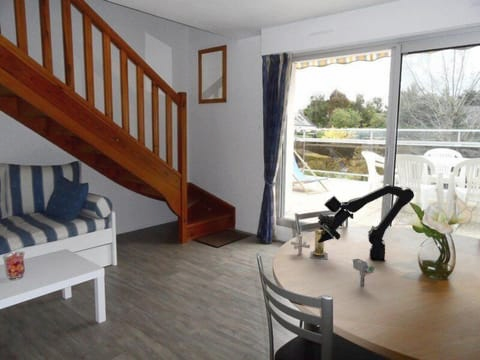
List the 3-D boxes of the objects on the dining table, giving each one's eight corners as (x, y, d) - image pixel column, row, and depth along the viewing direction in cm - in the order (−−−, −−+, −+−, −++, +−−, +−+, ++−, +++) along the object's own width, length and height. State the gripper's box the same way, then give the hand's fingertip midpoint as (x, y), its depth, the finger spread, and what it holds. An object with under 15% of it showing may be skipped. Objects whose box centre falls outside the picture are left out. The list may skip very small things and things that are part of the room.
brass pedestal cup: (325, 251, 187) (326, 229, 185) (325, 256, 181) (326, 232, 179) (312, 250, 189) (313, 228, 187) (312, 255, 183) (312, 231, 181)
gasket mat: (327, 253, 188) (327, 252, 188) (327, 259, 180) (327, 259, 180) (310, 252, 190) (310, 251, 190) (309, 258, 182) (309, 257, 182)
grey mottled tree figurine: (368, 291, 146) (370, 267, 144) (350, 281, 155) (351, 258, 153) (374, 289, 147) (375, 265, 146) (355, 280, 156) (356, 257, 155)
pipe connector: (304, 259, 180) (304, 239, 179) (286, 254, 186) (287, 235, 185) (313, 253, 188) (313, 234, 187) (296, 249, 194) (296, 231, 193)
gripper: (322, 204, 191) (301, 225, 191) (334, 212, 173) (311, 236, 173) (336, 218, 193) (315, 239, 193) (350, 228, 175) (327, 251, 175)
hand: (316, 241), depth 184 cm, fingers closed on brass pedestal cup, 4 cm apart
